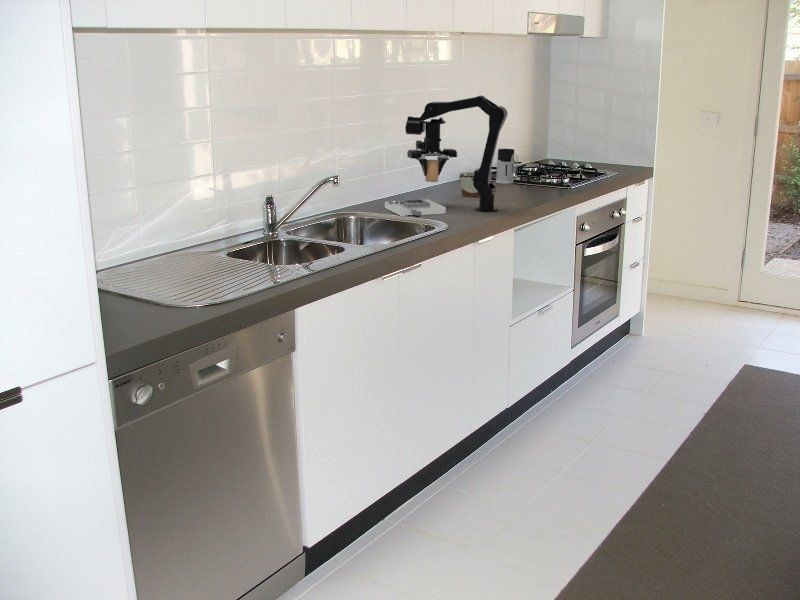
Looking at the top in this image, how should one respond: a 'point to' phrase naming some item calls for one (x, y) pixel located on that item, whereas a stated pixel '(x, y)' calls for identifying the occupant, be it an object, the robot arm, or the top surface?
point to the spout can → (432, 171)
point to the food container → (468, 186)
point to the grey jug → (506, 166)
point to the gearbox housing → (414, 207)
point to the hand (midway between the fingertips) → (431, 175)
